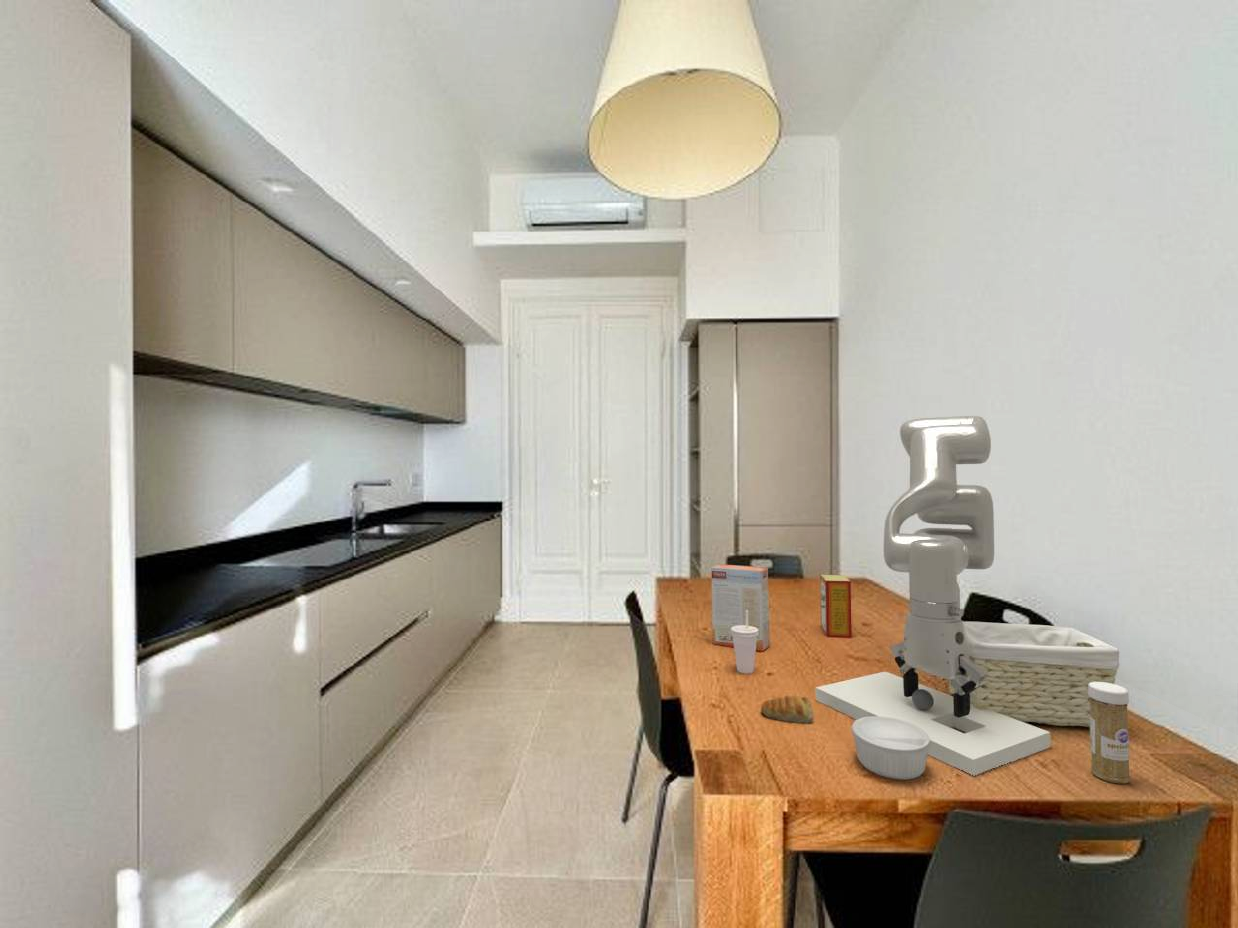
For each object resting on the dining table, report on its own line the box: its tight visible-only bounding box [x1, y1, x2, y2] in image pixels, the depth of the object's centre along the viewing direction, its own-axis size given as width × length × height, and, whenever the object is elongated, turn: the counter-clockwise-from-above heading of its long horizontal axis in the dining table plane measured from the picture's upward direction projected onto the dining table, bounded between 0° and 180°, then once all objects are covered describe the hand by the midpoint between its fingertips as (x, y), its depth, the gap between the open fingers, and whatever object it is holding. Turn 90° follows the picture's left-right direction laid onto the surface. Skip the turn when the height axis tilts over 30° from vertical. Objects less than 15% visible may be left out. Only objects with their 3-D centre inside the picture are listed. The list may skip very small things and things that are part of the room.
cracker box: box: [711, 564, 771, 652], centre depth 150 cm, size 14×6×21 cm, turn 58°
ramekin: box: [851, 716, 930, 780], centre depth 88 cm, size 11×11×5 cm
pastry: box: [760, 695, 814, 724], centre depth 107 cm, size 9×7×4 cm
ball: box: [912, 689, 934, 710], centre depth 103 cm, size 4×4×4 cm
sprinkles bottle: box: [1088, 682, 1131, 784], centre depth 84 cm, size 5×5×13 cm
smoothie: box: [731, 610, 759, 674], centre depth 131 cm, size 6×6×14 cm
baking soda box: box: [819, 574, 852, 639], centre depth 160 cm, size 10×6×16 cm
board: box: [814, 671, 1052, 777], centre depth 103 cm, size 32×20×2 cm, turn 25°
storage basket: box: [948, 620, 1120, 728], centre depth 107 cm, size 24×16×15 cm
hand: (935, 705), depth 101 cm, fingers open, 9 cm apart
